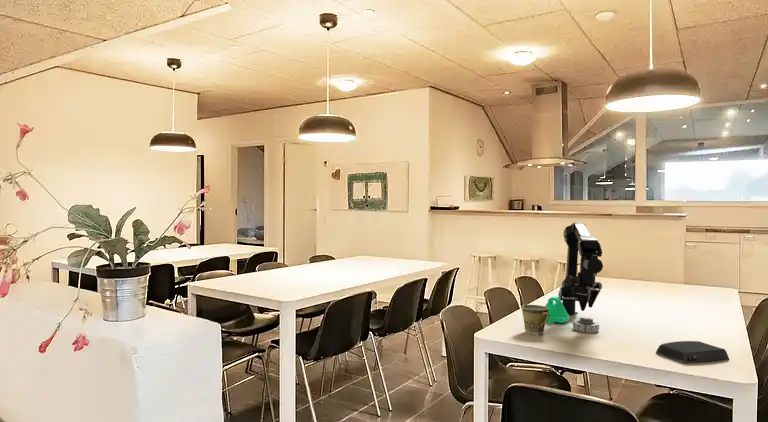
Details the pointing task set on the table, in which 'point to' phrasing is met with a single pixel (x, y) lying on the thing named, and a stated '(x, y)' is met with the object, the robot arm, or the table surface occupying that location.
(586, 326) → the grey piece
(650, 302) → the table surface
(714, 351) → the external hard drive
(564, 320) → the camera mount
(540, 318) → the ceramic cup
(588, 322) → the cap
